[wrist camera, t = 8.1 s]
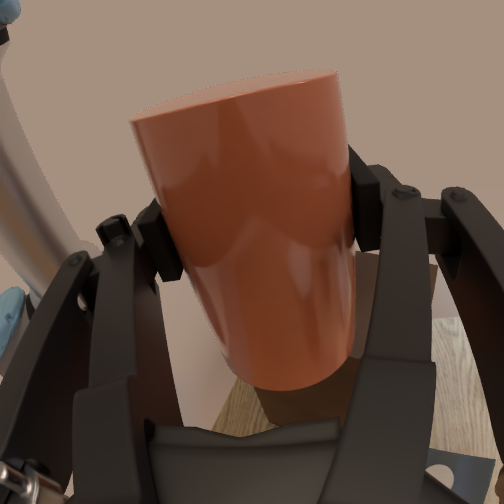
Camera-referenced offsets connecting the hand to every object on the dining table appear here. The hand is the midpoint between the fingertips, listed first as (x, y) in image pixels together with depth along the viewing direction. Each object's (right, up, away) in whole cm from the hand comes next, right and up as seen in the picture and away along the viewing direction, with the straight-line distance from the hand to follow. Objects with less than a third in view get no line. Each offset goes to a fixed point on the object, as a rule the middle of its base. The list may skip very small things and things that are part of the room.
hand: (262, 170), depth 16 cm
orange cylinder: (+1, -8, 0) cm, 9 cm away
